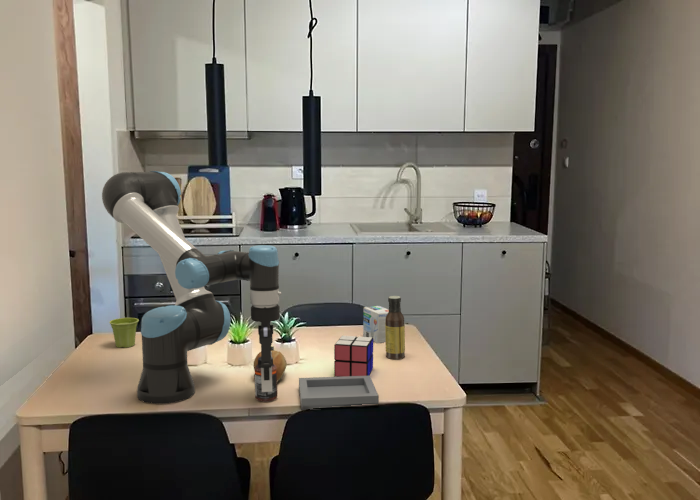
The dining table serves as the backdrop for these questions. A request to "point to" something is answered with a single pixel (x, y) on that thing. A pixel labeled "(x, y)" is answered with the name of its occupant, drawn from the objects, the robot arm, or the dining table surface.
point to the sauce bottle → (395, 330)
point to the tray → (336, 391)
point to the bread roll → (275, 362)
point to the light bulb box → (375, 323)
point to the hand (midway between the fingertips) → (267, 382)
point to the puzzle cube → (353, 356)
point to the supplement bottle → (258, 384)
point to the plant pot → (124, 331)
